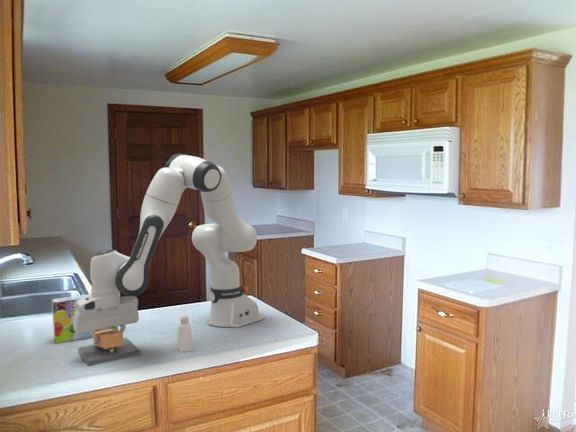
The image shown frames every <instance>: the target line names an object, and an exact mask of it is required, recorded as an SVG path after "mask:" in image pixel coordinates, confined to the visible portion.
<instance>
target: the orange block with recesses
mask: <svg viewBox="0 0 576 432" xmlns="http://www.w3.org/2000/svg"><path fill="white" fill-rule="evenodd" d="M109 332H110V333H109ZM104 333H108V334H104ZM94 336H95V337H99V343H96V344H94V343H93V344H92V345H96V346H99V347H101V348H104V349H108V348H112V347H116V346H121V345H124V341H123V338H124V332H120V330H118V331H116V330H113V329H108V330H103V331H98V332H95V334H94Z"/></svg>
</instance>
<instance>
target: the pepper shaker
mask: <svg viewBox="0 0 576 432" xmlns="http://www.w3.org/2000/svg"><path fill="white" fill-rule="evenodd" d="M189 318H190V317H189V316H186V315H185V316H181V317H180V318H179V320H180V324H179V325H178V335H177V336H178V337H177V347H176V349H177V351H178V352H181V353H186V352H190V351H192V350H194V342H193V341H194V340H193V333H192V327H191V324H190V322H189V321H190V320H189Z"/></svg>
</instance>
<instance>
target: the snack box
mask: <svg viewBox="0 0 576 432" xmlns="http://www.w3.org/2000/svg"><path fill="white" fill-rule="evenodd" d="M89 295H91V293H89V294H81V295H75V296H68V297H67V296H65V297H59V298H53V299H51V308H52V309H51V311H52V322H53V323H52V325H53V326H52V327H53V336H54V337H53V338H54V342H55V344H60V343H64V342H65V343H66V342H72V341H78V340H81V339H82V340H84V339H88V338H93V337H92V336H91V335H90V333H89V332H84V333H77V332H76V331H75V330H74V314H75V311H76V310H77V309H78V307H77V305H76V302H77V301H78V300H80V299H83V298H85V297H87V296H89ZM108 329H113V330H116V331H119V326H116V327H111V328H105V329H100V330H95V332H98V331H103V330H108Z"/></svg>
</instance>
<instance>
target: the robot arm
mask: <svg viewBox="0 0 576 432" xmlns="http://www.w3.org/2000/svg"><path fill="white" fill-rule="evenodd" d="M187 188H188V189H192V190H195V191H198V192H200V196H201V200H202V201H201V202H202V204H203V205H202V206H203V211H204V214H205V216H206V217H207V218H208V219H209V220H210V221H212V222H214V223H203V224H200V225H197V226H196V227H195V228H194V229H193V231H192V235H191V242H192V245H193V246H194V248H195V249H196V250H198V252H200V253H201V254H202V255H203V257H205V259H206V261H207V263H208V266H209V270H210V278H211V280H210V283H211V284H210V285H211V286H210V294H209V295H210V302H211V303H210V312H209V318H208V321H207V322H208V323H207V324H209V325H211V326H214V327H219V328H220V327H222V328H223V327H224V328H226V327H227V328H240V327H244V326H247V325H249V324H253V323H256V322H258V321H262V320H264V319H265V315H264V313H262V312H260V311H259V305H258V303H257V302H256V301H255V300H254V299H252V298H250V297H249V296H247V294H245V293H248V292H249V287H248V286H245V285H244V286H243V285H241V284H240V282H241V281H240V267H239V265H238V264H237V263H236V262H235V261H233V260H231V259H229V258H228V257H227V255H226V253H242V252H249V251H252V250H253V249H254V248H255V247H256V245H257V241H258V234H257V231H256V229H255V228H254V227H253V226H252V225H250V224H249V223H247V222H246V221H245V220H244V219H242V218H241V216H240V215H239V214H238V212H237V210H236V208H235V204H234V201H233V195H232V190H231V189H232V188H231V185H230V181H229V178H228V175H227V173H226V170H225V169H224V168H223V167H222V166H220V165H217V164H215V163H214V162H212V161H208V160H206V159H204V158H202V157H199V156H194V155H188V154H186V153H176V154H173V155H171V157H169V159H168V160H167V162H166V163H165V165H164V167H162V168H159V169H158V170H157V172H156V173H155V175H154V176H153V178H152V180H151V181H150V184H149V186H148V188H147V190H146V193H145V195H144V196H143V197H144V198H143V200H142V205H141V209H140V216H139V217H140V218H139V221H140V223H139V231H138V236H137V238H136V241H135V243H134V246H133V249H132V251H131V254H130V256H127V255H125V254H123V253H120V252H118V251H117V250H116V249H113V248H112V249H105V250H101V251H97V252H96V253H94V254H93V255H92V257H91V259H90V264H89V265H90V266H89V267H90V268H89V272H90V274H89V275H90V282H91V290H90V294H91V295H89V296H87V297H85V298H83V299H80V300H78V301H77V302H76V305H77V307H78V309H77V310H76V311H75V314H74V330H75V331H76V332H77V333H84V332H89V333H90V335H91V336H92V337H91V338H92V341H93V343H94V344H96V343H99V337H95V336H94V334H95V330H100V329H105V328H111V327H116V326H118V327H119V331H120V332H123V333H124V332H125V331H126V325H130V324H135V323H138V321H139V319H140V317H139V310H138V309H139V308H138V306H139V299H138V297H137V296H139V295H142V294H143V293H144V292H145V291H147V289H148V287H149V283H150V273H149V272H150V271H149V270H150V264H151V261H152V259H153V256H154V253H155V250H156V248H157V245H158V243H159V240H160V238H161V236H162V235H163V234H164V231H165V230H166V229H167V227H168V225H169V224H170V222H171V221H172V219H173V217H174V216H175V213H176V211H177V209H178V206H179V204H180V201H181V197H182V194H183V192H184V191H185V190H186V189H187ZM121 294H122V295H124V296H121ZM94 344H93V345H94Z"/></svg>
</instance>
